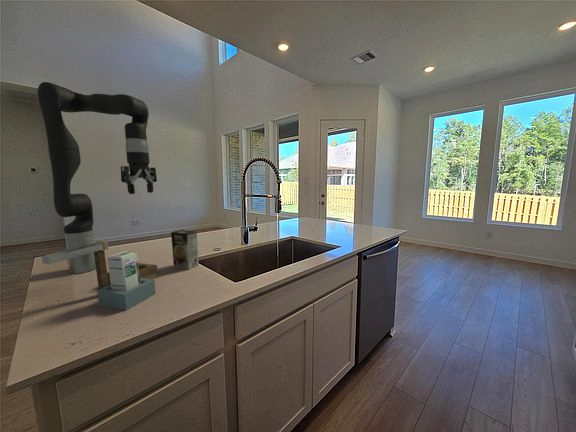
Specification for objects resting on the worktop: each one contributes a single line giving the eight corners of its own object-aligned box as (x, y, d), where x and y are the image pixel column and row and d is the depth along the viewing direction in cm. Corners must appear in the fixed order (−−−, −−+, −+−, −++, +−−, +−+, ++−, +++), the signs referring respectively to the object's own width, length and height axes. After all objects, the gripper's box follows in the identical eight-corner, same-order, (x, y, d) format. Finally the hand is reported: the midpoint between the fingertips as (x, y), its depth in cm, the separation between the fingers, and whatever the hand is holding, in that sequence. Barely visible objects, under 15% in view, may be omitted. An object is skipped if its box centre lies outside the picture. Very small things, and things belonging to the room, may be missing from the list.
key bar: (42, 264, 67) (40, 255, 67) (100, 248, 83) (99, 241, 82) (51, 265, 66) (49, 256, 66) (108, 249, 82) (107, 241, 81)
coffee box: (173, 267, 108) (170, 232, 105) (184, 262, 114) (181, 229, 111) (188, 270, 104) (186, 233, 102) (199, 265, 110) (197, 230, 108)
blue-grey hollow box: (99, 305, 75) (97, 290, 75) (130, 290, 86) (128, 276, 85) (126, 310, 73) (124, 294, 72) (155, 293, 83) (154, 279, 82)
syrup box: (127, 301, 76) (122, 257, 73) (112, 299, 77) (106, 256, 75) (142, 293, 81) (137, 251, 79) (127, 291, 82) (122, 250, 80)
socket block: (89, 294, 83) (83, 250, 81) (135, 274, 101) (131, 238, 98) (114, 298, 80) (109, 253, 78) (157, 276, 98) (154, 239, 95)
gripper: (145, 153, 102) (148, 192, 105) (112, 150, 89) (117, 194, 91) (159, 153, 100) (162, 192, 103) (128, 149, 87) (132, 194, 89)
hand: (141, 193), depth 97 cm, fingers open, 8 cm apart
